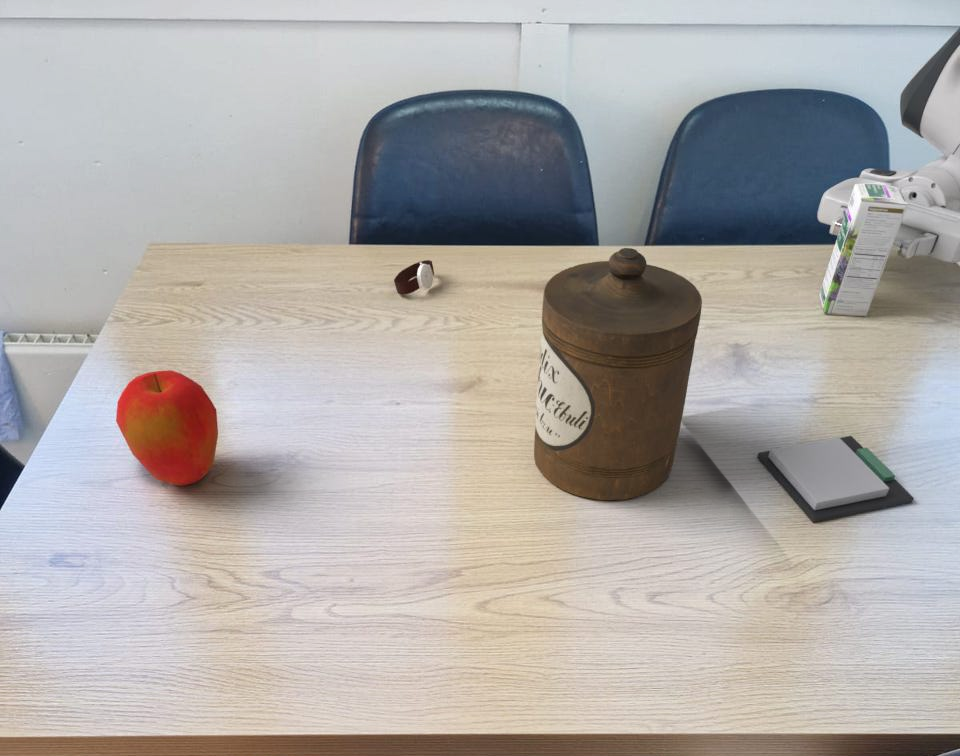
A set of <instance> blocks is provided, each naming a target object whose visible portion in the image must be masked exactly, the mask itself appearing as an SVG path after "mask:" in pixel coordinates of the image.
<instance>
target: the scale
mask: <svg viewBox="0 0 960 756" xmlns="http://www.w3.org/2000/svg"><path fill="white" fill-rule="evenodd" d="M757 459H758V460H759V462H760V463H761V464H762V465H763V466H764V468H765V469H766V470H767V471H768V472H769V473H770V475H771V476H772V477H773V478H774V479H775V480H776V482H777V483H778V484H779V485H780V486H781V487H782V489H783V490H784V491H785V492H786V493H787V494H788V495H789V497H790V498H791V499H792V500H793V501H794V503H795V504H796V505H797V506H798V507H799V508H800V509H801V511H802V512H803V513H804V514H805V515H806V517H807V518H808V519H809V520H810V521H811V523H812V524H817V523H822V522H827V521H831V520H836V519H842V518H846V517H852V516H856V515H861V514H866V513H871V512H876V511H881V510H885V509H891V508H895V507H902V506H906V505H910V504H913V501H914V500H915V498H914V496H912V494H911V493H909V492H908V490H906V489H905V487H904V486H902V484H901V483H899V482H898V481H897V480H896V478H895V477H896V475H895V473H894V472H893V471H891V469H890V468H889V467H887V465H886V464H885V463H883V462H882V461H881V460H880V459H879V458H878V457H877V456H876V455H875V454H874V453H873V452H872V451H871V450H870V449H869V448H868V447H863V446H862V445H861V444H860V442H858V441H857V439H855V438H854V436H852V435H847V436H842V437H840V436H835V437H830V438H825V439H819V440H815V441H809V442H804V443H797V444H791V445H787V446H782V447H776V448H775V447H774V448H771V449H770V450H766V451H761V452H760V451H759V452H758V454H757Z"/></svg>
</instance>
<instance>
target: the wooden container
mask: <svg viewBox="0 0 960 756" xmlns="http://www.w3.org/2000/svg"><path fill="white" fill-rule="evenodd" d="M542 297H543V298H542V309H541V314H542V315H541V327H542V328H541V337H540V338H541V339H540V351H539V352H540V354H539V363H538V364H539V366H538V376H537V377H538V378H537V389H536V401H535V418H534V419H535V420H534V421H535V422H534V425H535V427H534V444H533V459H534V462H535V465H536V467H537V469H538V470H539V472H540V473H541V475H542V476H543V477H544V478H545V479H546V480H547V481H548V482H549V483H551V484H553V485H554V486H556V487H557V488H559V489H561V490H562V491H565V492H567V493H570V494H572V495H574V496H578V497H583V498H587V499H592V500H601V501H602V500H603V501H619V500H627V499H632V498H637V497H640V496H643V495H646V494H648V493H650V492H652V491H653V490H655V489H657V488H658V487H660V486H661V485H662V484H663V483H665V481H666V480H667V479H668V478H669V476H670V474H671V471H672V467H673V464H674V460H675V455H676V449H677V443H678V439H679V436H680V430H681V426H682V420H683V416H684V415H683V414H684V411H685V403H686V399H687V394H688V393H687V392H688V387H689V386H688V385H689V381H690V374H691V369H692V362H693V358H694V353H695V352H694V351H695V346H696V339H697V336H698V331H699V326H700V320H701V316H702V308H703V307H702V306H703V299H702V295H701V293H700V291H699V289H698V288H697V287H696V286H695V285H694V284H693V283H692V282H691V281H689V280H688V279H687V278H686V277H684V276H682V275H680V274H678V273H676V272H674V271H671V270H668V269H666V268H663V267H659V266H656V265H652V264H647V260H646V258H645V256H644V255H643V254H641V253H640V252H639V251H638V250H637V249H635V248H630V247H623V248H621V249H619V250H618V251H615V252H613V253H612V255H611V256H609V260H601V261H592V262H585V263H579V264H577V265H574V266H570V267H568V268H565V269H563V270H561V271H560V272H557V273H556V274H555V275H553V276H552V277H551V278H550V279H549V280H548V281H547V282H546V285H545V287H544V290H543V296H542Z"/></svg>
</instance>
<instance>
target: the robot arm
mask: <svg viewBox="0 0 960 756" xmlns="http://www.w3.org/2000/svg"><path fill="white" fill-rule="evenodd" d="M899 113H900V120H901V125H902V126H903V127H904V128H906V129H908V130H909V131H911V132H912V133H914V134H915V135H916V136H918V137H920V138H921V139H924V140H926V141H927V143H930V145H932V146H933V147H934V148H935V149H937V151H939V152H940V153H941V154H942V156H940V157H937V158H936V159H934V160H931V161H930V162H928V163H927V164H925V165H923V167H921V168H919V169H917V170H916V169H909V170H892V169H891V170H889V169H881V168H871V167H870V168H865V169H863V170H862V171H861V172H860V174H859V177H852V178H847V179H845V180H843V181H840V182H839V183H837V184H835V185H833V186H832V187H830V188H828V189H826V191H824V193H823V195H822V197H821V199H820V202H819V205H818V209H817V212H816V213H817V215H816V217H817V221H818V222H819V223H821V224H825V225H828V226H830V228H829V232H828V233H829V234H830V235H834V236H837V237H838V234H839V231H840V228H841V225H842V222H843V219H844V216H845V213H846V210H847V207H848V204H849V201H850V198H851V195H852V191H853V188H854V186H855V184H883V185H889V186H894V187H899V188H900V190H901V192H902V194H903V196H904V199H905V202H906V203H907V208H906V210H905V213H904V216H903V219H902V221H901V224H900V227H899V230H898V232H897V235H896V238H895V241H894V243H893V246H895V247H897V248H899V249H898V251H897V256H899V257H902V258H905V259H910V258H912V257H915V256H926V257H930V258H932V259H936V260H939V261H941V262H945V263H948V264H953V263H954V264H956V263H960V26H959V27H958V28H957V29H956V30H955V32H954V33H953V34H952V35H951V36H950V37H949V38H948V39H947V41H946V42H945V43H944V44H943V45H942V46H941V47H940V48H939V49H938V50H937V51H936V52H935V53H933V55H932V56H930V57H929V58H928V59H927V60H925V62H924V63H923V64H922V65H920V67H919V68H918V69H917V70H916V71H915V72H914V73H913V74H912V76H911V77H910V78H909V80H908V81H907V83H906V85H905V87H904V89H903V90H902V92H901V93H900V99H899Z"/></svg>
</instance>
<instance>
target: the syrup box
mask: <svg viewBox="0 0 960 756" xmlns="http://www.w3.org/2000/svg"><path fill="white" fill-rule="evenodd" d="M906 208H907V203H906V202H905V199H904V196H903V194H902V192H901V190H900V188H899V187H894V186H889V185H883V184H855V186H854V188H853V191H852V195H851V198H850V201H849V204H848V207H847V210H846V213H845V216H844V219H843V222H842V225H841V228H840V231H839V234H838V236H837V238H836V240H835V244H834V247H833V250H832V252H831V256H830V260H829V262H828V265H827V268H826V272H825V274H824V278H823V281H822V284H821V287H820V291H819V295H818V297H819V299H820V305H821V308H822V311H823V314H825V315H835V316H836V315H837V316H851V317H852V316H853V317H854V316H856V317H867V316H868V314H869V311H870V308H871V305H872V303H873V300H874V298H875V295H876V292H877V289H878V287H879V284H880V281H881V279H882V275H883V272H884V270H885V268H886V264H887V262H888V259H889V256H890V254H891V251H892V249H893V246H894V245H893V243H894V241H895V238H896V235H897V232H898V230H899V227H900V224H901V221H902V219H903V216H904V213H905V210H906Z"/></svg>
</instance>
